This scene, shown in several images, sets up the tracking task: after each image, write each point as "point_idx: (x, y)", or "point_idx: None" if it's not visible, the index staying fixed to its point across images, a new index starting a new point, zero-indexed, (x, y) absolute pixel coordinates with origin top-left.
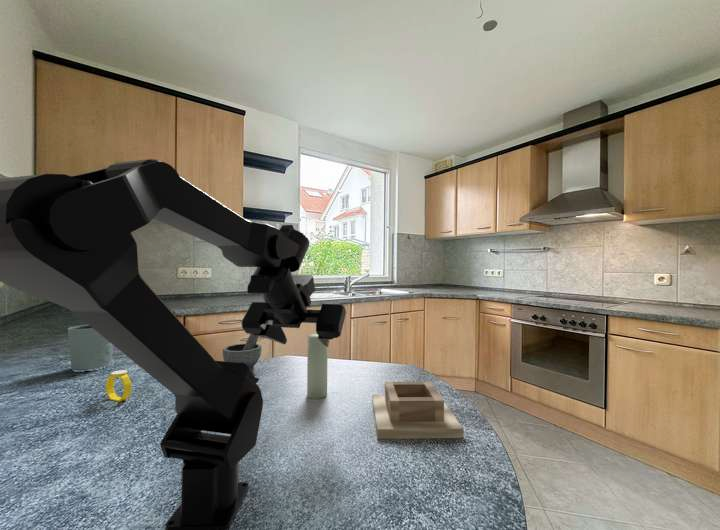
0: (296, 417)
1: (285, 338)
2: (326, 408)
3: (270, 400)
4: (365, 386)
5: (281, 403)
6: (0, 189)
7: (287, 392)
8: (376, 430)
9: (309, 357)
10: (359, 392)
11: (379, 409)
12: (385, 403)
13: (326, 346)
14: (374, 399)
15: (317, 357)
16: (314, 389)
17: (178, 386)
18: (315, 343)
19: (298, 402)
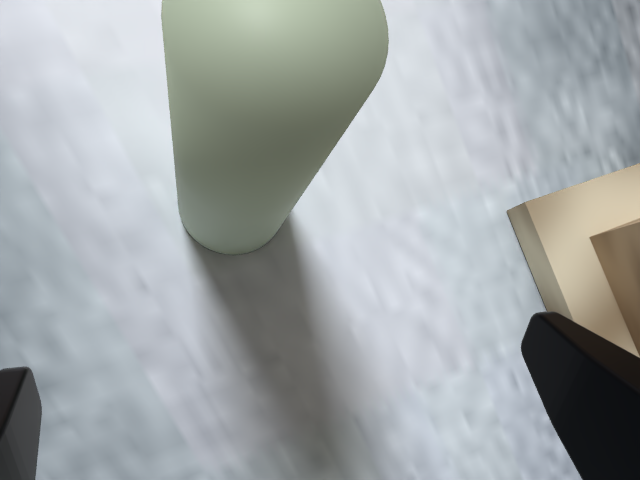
0: (256, 475)
1: (21, 417)
2: (346, 336)
3: (6, 346)
4: (417, 45)
5: (94, 360)
6: None
7: (48, 216)
8: None
9: (216, 184)
10: (417, 121)
11: None
12: (604, 277)
13: (535, 368)
14: (551, 250)
15: (291, 186)
16: (246, 244)
17: None
18: (295, 150)
19: (180, 318)
